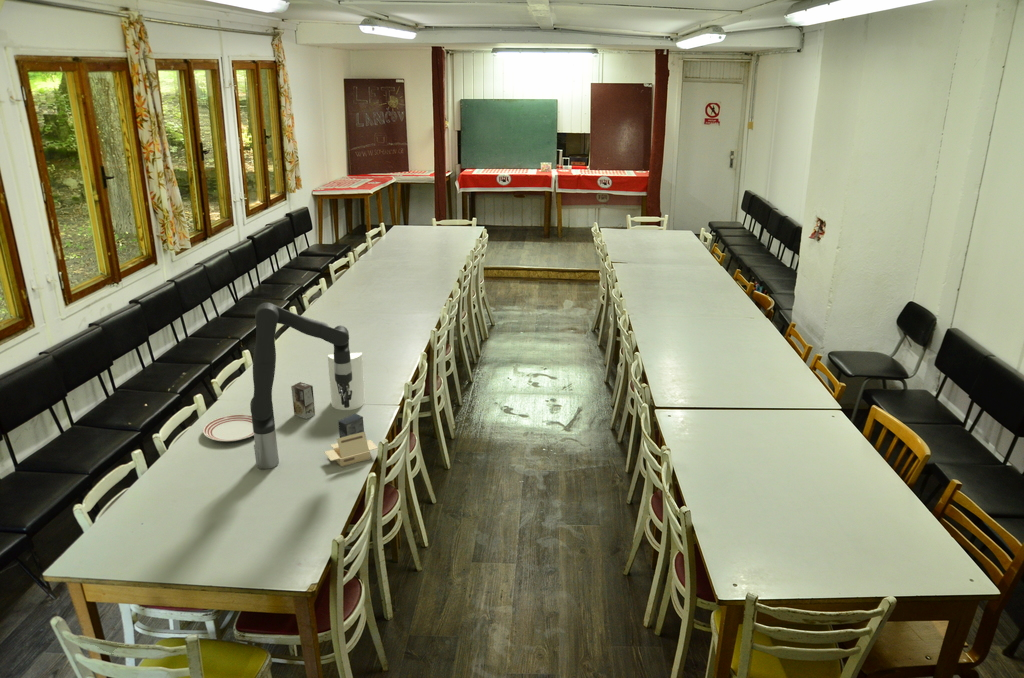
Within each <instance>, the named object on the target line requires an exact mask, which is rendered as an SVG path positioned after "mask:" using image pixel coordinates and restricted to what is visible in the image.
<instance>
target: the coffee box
mask: <svg viewBox="0 0 1024 678" xmlns="http://www.w3.org/2000/svg"><path fill="white" fill-rule="evenodd" d="M290 387H291V388H290V389H291V398H292V407H293V415H294V416H297V417H300V418H303V419H305V420H308V419H309V418H311V417H313V416H315V415H316V410H315V398H314V397H315V396H314V388H313V387H314V386H313V385H312V384H308V383H305V382H303V381H302V382H301V381H300V382H297V383H295V384H294V385H291V386H290Z"/></svg>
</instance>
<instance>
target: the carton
mask: <svg viewBox="0 0 1024 678" xmlns="http://www.w3.org/2000/svg"><path fill="white" fill-rule="evenodd" d="M367 444H368V448H369V451H367V452H363V453H360V454H356V455H352V456H348V457H345V458H341V454H340V450H339V446H338V442H335V443H332V444H330V447H331V448H332V449H329V450H326V451H323V452H324V455H326V457H327V458H328V459H329V461H331V462H333V461H336V462H337V464H338V465H339V467H340V468H343V467H346V466H350V465H353V464H354V465H355V464H357V463H361V462H365V461H368V460H371V451H374V450H378V449H379V448H378V446H377V445H376V444H375V443H374V442H373V441H372V440H371V439H369V440H367Z"/></svg>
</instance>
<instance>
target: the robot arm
mask: <svg viewBox="0 0 1024 678" xmlns="http://www.w3.org/2000/svg"><path fill="white" fill-rule="evenodd" d="M254 317H255V332H256V333H255V334H256V336H255V337H256V338H255V343H254V350H253V356H252V357H253V358H252V379H253V380H252V381H253V397H252V399H250V404H249V405H250V407H249V408H250V409H249V410H250V413H251V414H250V415H252V424H253V432H254V435H253V438H254V445H253V449H254V457H255V464H256V465H257V468H258V469H259V470H269V469H273V468H275V467H277V466H278V465H279V464H280V461H279V460H280V458H279V452H278V451H279V449H278V442H277V441H278V440H277V434H276V433H277V432H276V422H275V421H276V420H275V416H274V414H275V413H274V405H273V404H274V403H273V385H274V380H275V374H276V362H277V361H276V360H277V353H276V352H277V351H276V342H275V341H276V338H275V337H276V331H277V325H278V324H279V325H284V326H287V327H289V328H292V329H294V330H296V331H298V332H300V333H302V334H304V335H307V336H310V337H314V338H317V339H321V340H323V341H325V342H327V343H328V344H329V343H330V344H332V345H333V354H334V373H335V381H336V383H337V387H338V392H339V394H340V397H341V404H342V405H344V407H345V408H348V407H349V400H351V397H352V390H350V385H349V382H350V381H352V366H351V360H350V353H351V352H350V351H351V350H350V342H349V341H350V334H349V330H348V328H347V327H345V326H344V325H337V326H335V327H334V328H333V327H331V326H330V325H328V323H326V322H323V321H319V320H317V319H312V318H309V317H306V316H305V317H304V316H302V315H299V314H297V313H293V311H292V312H291V311H289V310H287V309H284V308H283V307H280V306H278V305H276V304H273V303H272V302H263V303H261V304H259V305H258V306H257V308H256V310H255V316H254Z"/></svg>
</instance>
